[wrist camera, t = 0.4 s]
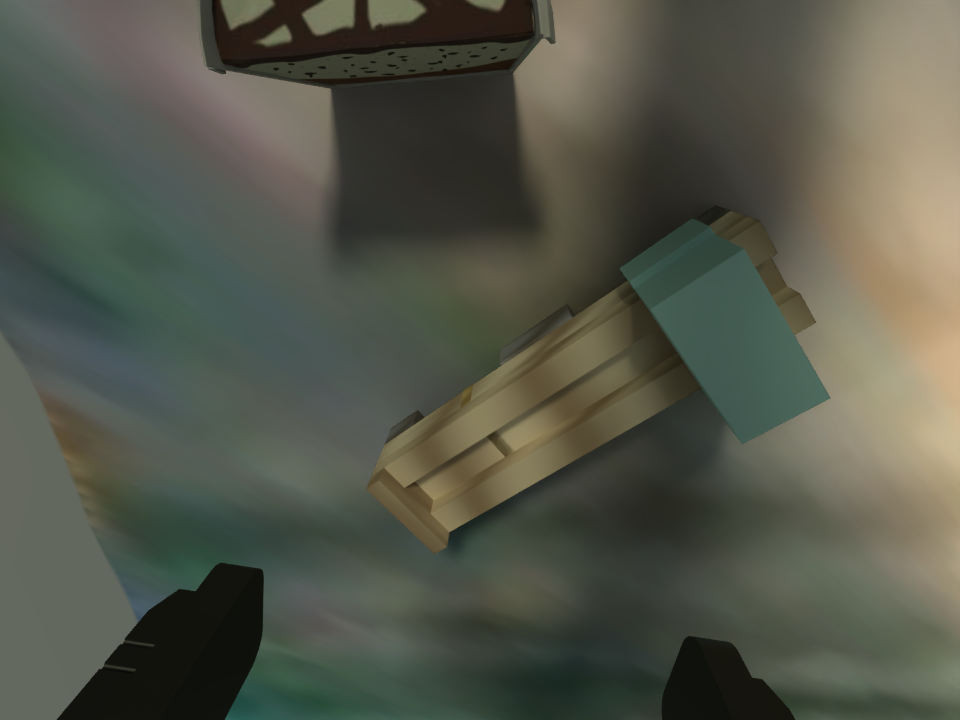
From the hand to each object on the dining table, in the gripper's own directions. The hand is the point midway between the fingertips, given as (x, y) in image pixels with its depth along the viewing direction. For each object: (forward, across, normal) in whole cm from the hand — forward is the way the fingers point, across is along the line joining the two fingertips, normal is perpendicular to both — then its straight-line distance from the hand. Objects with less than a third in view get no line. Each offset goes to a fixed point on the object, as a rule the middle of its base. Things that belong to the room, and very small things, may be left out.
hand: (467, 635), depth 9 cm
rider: (+18, -10, -4) cm, 21 cm away
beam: (+22, -5, +2) cm, 23 cm away
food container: (+21, +6, -16) cm, 27 cm away
